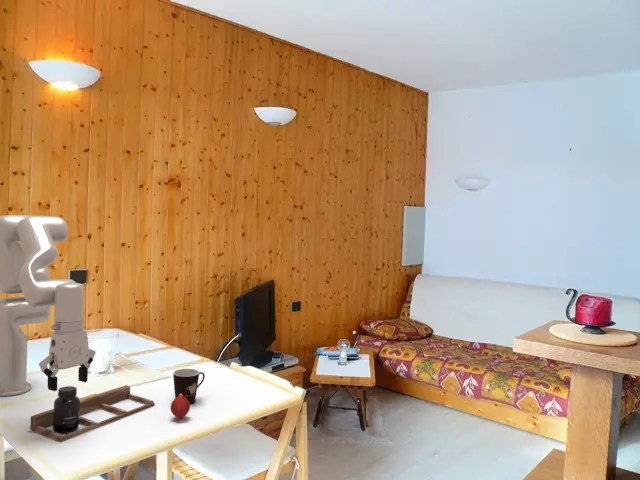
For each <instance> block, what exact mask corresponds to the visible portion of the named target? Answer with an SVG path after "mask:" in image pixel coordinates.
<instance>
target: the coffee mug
mask: <svg viewBox="0 0 640 480" xmlns="http://www.w3.org/2000/svg"><path fill="white" fill-rule="evenodd" d="M172 375H173V376H172V377H173V387H174V388H173V389H174V399H175V398H176V397H178V395H179V394H182V395H183V396H184V397H185V398H186V399H187V400H188V401H189V404H190V405H193V404H195V402H196V398H197V397H196V396H197V391H198V388H199V387H200V386H201V385H202V384H203V382H204V381H205V375H206V374H205V373H204V372H203V371H200V370H198V369H194V368H180V369H179V368H178V369H176V370H174V371H173V373H172ZM200 375H202V379H201V381H200V382H199V378H200Z"/></svg>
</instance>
